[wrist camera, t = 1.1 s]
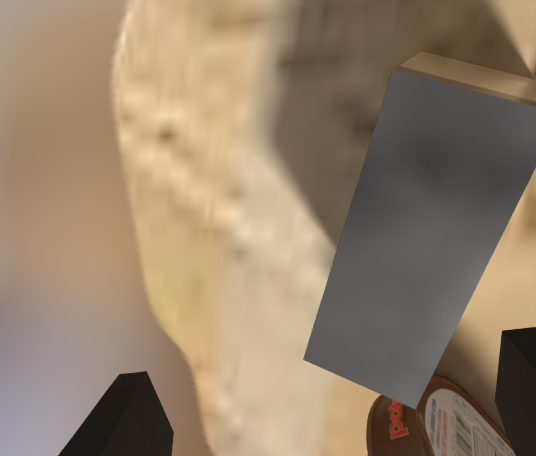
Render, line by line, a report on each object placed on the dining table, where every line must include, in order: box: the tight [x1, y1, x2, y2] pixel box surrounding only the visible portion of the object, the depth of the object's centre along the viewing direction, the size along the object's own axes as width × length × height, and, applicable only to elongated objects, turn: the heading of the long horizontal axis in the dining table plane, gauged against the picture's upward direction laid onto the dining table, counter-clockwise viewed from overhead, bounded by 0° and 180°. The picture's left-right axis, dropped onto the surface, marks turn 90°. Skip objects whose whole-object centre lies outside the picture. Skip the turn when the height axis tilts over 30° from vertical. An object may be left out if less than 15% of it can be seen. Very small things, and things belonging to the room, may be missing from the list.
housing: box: [303, 51, 536, 409], centre depth 17 cm, size 4×10×7 cm, turn 169°
